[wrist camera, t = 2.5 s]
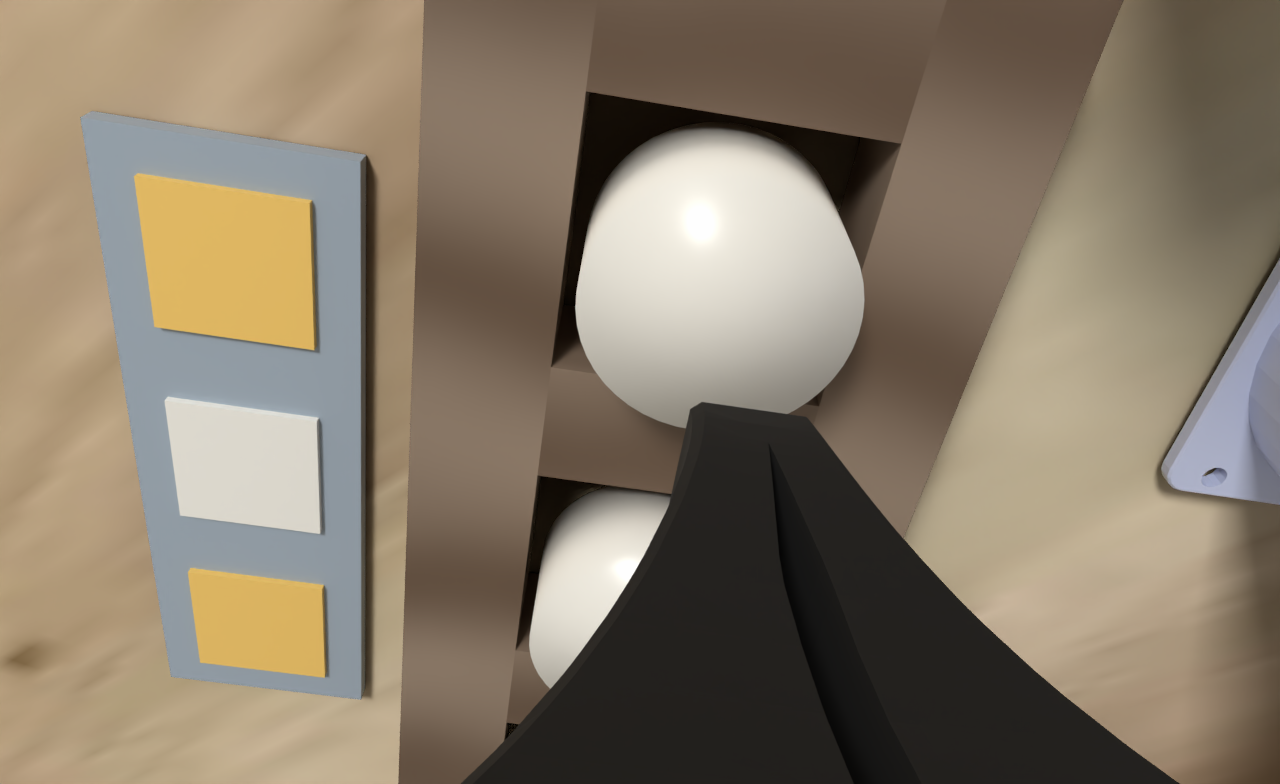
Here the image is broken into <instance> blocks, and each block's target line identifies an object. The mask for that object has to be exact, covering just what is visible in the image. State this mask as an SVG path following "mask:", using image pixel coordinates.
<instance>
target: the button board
mask: <svg viewBox="0 0 1280 784" xmlns="http://www.w3.org/2000/svg"><path fill="white" fill-rule="evenodd" d="M1122 2H1123V0H424V26H423V56H422V86H421V117H420V147H419V177H418V207H417V238H416V268H415V298H414V329H413V359H412V389H411V420H410V450H409V480H408V511H407V541H406V571H405V602H404V632H403V662H402V693H401V723H400V753H399V783H398V784H461V783H462V782H463V781H464V780H465V779H466V778H467V777H468V776H469V775H470V774H471V773H472V772H473V771H474V770H475V769H476V768H477V767H478V766H480V765H481V764H482V763H483V762H484V761H485V760H486V759H487V758H488V757H489V756H490V755H491V754H492V753H493V752H494V751H495V750H496V749H497V748H498V747H499V746H500V745H501V744H502V743H503V742H504V741H505V740H506V738H507V737H508V730H509V723H514V724H520V723H521V722H522V721H523V720H524V718H525V717H526V716H527V715H528V714H529V713H530V712H531V710H532V709H533V708H534V707H535V706H536V705H537V704H538V702H539V701H540V700H541V699H542V698H543V697H544V696H545V695H546V693H547V692H548V691H549V690H550V688H549V687H548V686H547V685H546V684H545V683H544V681H543V680H542V679H541V677H540V676H539V674H538V672H537V671H536V669H535V667H534V664H533V661H532V658H531V655H530V648H529V639H530V630H531V624H532V617H533V611H534V605H535V598H536V592H537V586H538V579H539V574H535V573H529V567H530V559H531V551H532V544H533V536H534V528H535V520H536V513H537V505H538V497H539V489H540V482H541V476H545V477H552V478H560V479H567V480H574V481H581V482H589V483H596V484H603V485H610V486H618V487H625V488H632V489H639V490H647V491H654V492H661V493H668V494H671V493H672V489H673V484H674V480H675V475H676V471H677V466H678V462H679V457H680V453H681V448H682V444H683V439H684V435H685V430H686V428H681V427H676V426H673V425H670V424H666V423H663V422H660V421H658V420H655V419H653V418H651V417H649V416H646V415H644V414H642V413H641V412H639V411H637V410H636V409H634V408H632V407H631V406H629V405H628V404H627V403H625V402H624V401H623V400H621V399H620V398H619V397H618V396H616V395H615V394H614V393H613V392H612V391H611V390H610V389H609V388H608V387H607V386H606V385H605V384H604V382H603V381H602V380H601V378H600V377H599V376H598V374H597V373H596V372H595V370H594V369H593V367H592V365H591V363H590V362H589V360H588V358H587V356H586V354H585V351H584V349H583V346H582V343H581V341H580V337H579V332H578V328H577V322H576V310H575V306H569V305H563V303H564V295H565V287H566V280H567V272H568V264H569V256H570V249H571V241H572V233H573V225H574V218H575V210H576V202H577V194H578V186H579V179H580V171H581V163H582V155H583V148H584V140H585V132H586V124H587V117H588V109H589V101H590V93H591V92H593V93H599V94H605V95H611V96H617V97H623V98H629V99H635V100H641V101H647V102H653V103H659V104H665V105H671V106H677V107H683V108H690V109H696V110H702V111H708V112H714V113H720V114H726V115H732V116H738V117H744V118H750V119H756V120H762V121H768V122H774V123H780V124H786V125H792V126H798V127H804V128H810V129H816V130H822V131H828V132H834V133H840V134H846V135H852V136H858V137H861V139H860V142H859V146H858V149H857V153H856V156H855V160H854V163H853V167H852V170H851V174H850V177H849V180H848V184H847V187H846V191H845V194H844V198H843V201H842V205H841V208H840V212H839V216H840V218H841V221H842V223H843V225H844V228H845V230H846V232H847V235H848V237H849V240H850V242H851V244H852V247H853V249H854V251H855V254H856V257H857V260H858V262H859V265H860V268H861V273H862V278H863V283H864V311H863V319H862V323H861V327H860V331H859V335H858V337H857V340H856V342H855V345H854V347H853V350H852V352H851V353H850V355H849V357H848V359H847V360H846V362H845V364H844V365H843V367H842V368H841V369H840V371H839V372H838V373H837V375H836V376H835V377H834V379H833V380H832V381H831V382H830V383H829V384H828V385H827V386H826V387H825V388H824V389H823V390H822V391H821V392H820V393H818V394H817V395H816V396H815V397H813V398H812V399H811V400H810V401H808V402H807V403H805V404H804V405H802V406H801V407H799V408H797V409H796V410H794V411H793V412H790V413H788V414H790V415H797V416H804V417H807V418H808V419H809V420H810V422H811V423H812V424H813V425H814V426H815V428H816V429H817V430H818V432H819V433H820V434H821V435H822V437H823V438H824V439H825V441H826V442H827V443H828V445H829V446H830V447H831V449H832V450H833V451H834V453H835V454H836V455H837V457H838V458H839V459H840V460H841V462H842V463H843V464H844V466H845V467H846V468H847V470H848V471H849V472H850V473H851V475H852V476H853V477H854V479H855V480H856V481H857V483H858V484H859V485H860V486H861V488H862V489H863V490H864V491H865V493H866V494H867V495H868V496H869V498H870V499H871V500H872V502H873V503H874V504H875V505H876V506H877V508H878V509H879V510H880V511H881V513H882V514H883V515H884V516H885V517H886V519H887V520H888V521H889V522H890V524H891V525H892V526H893V527H894V528H895V529H896V531H897V532H898V533H899V534H900V535H901V537H902V538H904V536H905V533H906V531H907V528H908V526H909V523H910V521H911V518H912V516H913V514H914V511H915V509H916V506H917V504H918V501H919V499H920V496H921V494H922V492H923V489H924V487H925V484H926V482H927V479H928V477H929V474H930V472H931V470H932V467H933V465H934V462H935V460H936V457H937V455H938V452H939V450H940V448H941V445H942V443H943V440H944V438H945V435H946V433H947V430H948V428H949V426H950V423H951V421H952V418H953V416H954V413H955V411H956V408H957V406H958V404H959V401H960V399H961V396H962V394H963V391H964V389H965V386H966V384H967V382H968V379H969V377H970V374H971V372H972V369H973V367H974V364H975V362H976V360H977V357H978V355H979V352H980V350H981V347H982V345H983V342H984V340H985V337H986V335H987V333H988V330H989V328H990V325H991V323H992V320H993V318H994V315H995V313H996V311H997V308H998V306H999V303H1000V301H1001V298H1002V296H1003V293H1004V291H1005V289H1006V286H1007V284H1008V281H1009V279H1010V276H1011V274H1012V271H1013V269H1014V267H1015V264H1016V262H1017V259H1018V257H1019V254H1020V252H1021V249H1022V247H1023V245H1024V242H1025V240H1026V237H1027V235H1028V232H1029V230H1030V227H1031V225H1032V223H1033V220H1034V218H1035V215H1036V213H1037V210H1038V208H1039V205H1040V203H1041V201H1042V198H1043V196H1044V193H1045V191H1046V188H1047V186H1048V183H1049V181H1050V179H1051V176H1052V174H1053V171H1054V169H1055V166H1056V164H1057V161H1058V159H1059V156H1060V154H1061V152H1062V149H1063V147H1064V144H1065V142H1066V139H1067V137H1068V134H1069V132H1070V130H1071V127H1072V125H1073V122H1074V120H1075V117H1076V115H1077V112H1078V110H1079V108H1080V105H1081V103H1082V100H1083V98H1084V95H1085V93H1086V90H1087V88H1088V86H1089V83H1090V81H1091V78H1092V76H1093V73H1094V71H1095V68H1096V66H1097V64H1098V61H1099V59H1100V56H1101V54H1102V51H1103V49H1104V46H1105V44H1106V42H1107V39H1108V37H1109V34H1110V32H1111V29H1112V27H1113V24H1114V22H1115V20H1116V17H1117V15H1118V12H1119V10H1120V7H1121V5H1122Z"/></svg>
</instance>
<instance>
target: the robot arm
mask: <svg viewBox="0 0 1280 784" xmlns="http://www.w3.org/2000/svg"><path fill="white" fill-rule="evenodd" d="M1213 468H1216V469H1215V470H1214V471H1213V472H1212V473H1211V474H1208V475H1206V476H1203V475H1204V474H1205V473H1206V472H1207V471H1208V470H1211V469H1213ZM1161 471H1162V475H1163V477H1164V478H1165V479H1166V481H1167V482H1168V483H1169V484H1170V485H1171V486H1172V487H1173V488H1174V489H1177V490H1180V491H1186V492H1193V493H1200V494H1207V495H1214V496H1221V497H1228V498H1235V499H1242V500H1248V501H1255V502H1262V503H1269V504H1276V505H1280V259H1279V260H1278V262H1277V264H1276V266H1275V267H1274V269H1273V271H1272V273H1271V274H1270V276H1269V278H1268V280H1267V281H1266V283H1265V285H1264V287H1263V288H1262V290H1261V292H1260V294H1259V295H1258V297H1257V299H1256V301H1255V302H1254V304H1253V306H1252V308H1251V309H1250V311H1249V313H1248V315H1247V316H1246V318H1245V320H1244V321H1243V323H1242V325H1241V327H1240V328H1239V330H1238V332H1237V334H1236V335H1235V337H1234V339H1233V341H1232V342H1231V344H1230V346H1229V348H1228V349H1227V351H1226V353H1225V355H1224V356H1223V358H1222V360H1221V362H1220V363H1219V365H1218V367H1217V369H1216V370H1215V372H1214V374H1213V376H1212V377H1211V379H1210V381H1209V383H1208V384H1207V386H1206V388H1205V390H1204V391H1203V393H1202V395H1201V397H1200V398H1199V400H1198V402H1197V404H1196V405H1195V407H1194V409H1193V411H1192V412H1191V414H1190V416H1189V418H1188V419H1187V421H1186V423H1185V425H1184V426H1183V428H1182V430H1181V432H1180V433H1179V435H1178V437H1177V439H1176V440H1175V442H1174V444H1173V446H1172V447H1171V449H1170V451H1169V453H1168V454H1167V456H1166V458H1165V460H1164V461H1163V464H1162V467H1161ZM461 784H1179V783H1178V782H1176V781H1175V780H1174V779H1172V778H1171V777H1169V776H1168V775H1167V774H1165V773H1164V772H1163V771H1161V770H1160V769H1158V768H1157V767H1156V766H1154V765H1153V764H1152V763H1150V762H1149V761H1147V760H1146V759H1145V758H1143V757H1142V756H1141V755H1139V754H1138V753H1137V752H1135V751H1134V750H1132V749H1131V748H1130V747H1128V746H1127V745H1126V744H1124V743H1123V742H1122V741H1121V740H1119V739H1118V738H1117V737H1115V736H1114V735H1113V734H1112V733H1110V732H1109V731H1108V730H1107V729H1105V728H1104V727H1103V726H1102V725H1100V724H1099V723H1098V722H1097V721H1095V720H1094V719H1093V718H1091V717H1090V716H1089V715H1088V714H1086V713H1085V712H1084V711H1083V710H1081V709H1080V708H1079V707H1078V706H1076V705H1075V704H1074V703H1073V702H1071V701H1070V700H1069V699H1067V698H1066V697H1065V696H1064V695H1063V694H1061V693H1060V692H1059V691H1058V690H1057V689H1055V688H1054V687H1053V686H1052V685H1051V684H1050V683H1048V682H1047V681H1046V680H1045V679H1044V678H1042V677H1041V676H1040V675H1039V674H1038V673H1037V672H1035V671H1034V670H1033V669H1032V668H1031V667H1030V666H1029V665H1028V664H1027V663H1025V662H1024V661H1023V660H1022V659H1021V658H1020V657H1019V656H1018V655H1017V654H1016V653H1015V652H1013V651H1012V650H1011V649H1010V648H1009V647H1008V646H1007V645H1006V644H1005V643H1004V642H1003V641H1001V640H1000V639H999V638H998V637H997V636H996V635H995V634H994V633H993V632H992V631H991V630H990V629H988V628H987V627H986V626H985V625H984V624H983V623H982V622H981V621H980V620H979V619H978V618H977V617H976V616H975V615H974V614H973V613H972V612H971V611H970V610H969V609H968V608H967V607H966V606H965V605H964V604H963V603H962V602H961V601H960V600H959V599H958V598H957V597H956V596H955V595H954V594H953V593H952V592H951V591H950V589H949V588H948V587H947V586H946V585H945V584H944V583H943V582H942V581H941V580H940V579H939V578H938V577H937V576H936V574H935V573H934V572H933V571H932V570H931V569H930V568H929V567H928V566H927V565H926V564H925V563H924V562H923V561H922V559H921V558H920V557H919V556H918V555H917V554H916V553H915V551H914V550H913V549H912V548H911V547H910V546H909V545H908V543H907V542H906V541H905V540H904V539H903V538H902V537H901V535H900V534H899V533H898V532H897V531H896V529H895V528H894V527H893V526H892V525H891V524H890V522H889V521H888V520H887V519H886V517H885V516H884V515H883V514H882V513H881V511H880V510H879V509H878V508H877V506H876V505H875V504H874V503H873V502H872V500H871V499H870V498H869V496H868V495H867V494H866V493H865V491H864V490H863V489H862V488H861V486H860V485H859V484H858V483H857V481H856V480H855V479H854V477H853V476H852V475H851V473H850V472H849V471H848V470H847V468H846V467H845V466H844V464H843V463H842V462H841V460H840V459H839V458H838V457H837V455H836V454H835V453H834V451H833V450H832V449H831V447H830V446H829V445H828V443H827V442H826V441H825V439H824V438H823V437H822V435H821V434H820V433H819V432H818V430H817V429H816V428H815V426H814V425H813V424H812V423H811V422H810V420H809V419H808V418H807V417H804V416H797V415H790V414H783V413H776V412H769V411H762V410H755V409H748V408H741V407H734V406H727V405H720V404H713V403H706V402H701V403H699V404H698V405H696V406H694V407H693V408H691V409H690V412H689V417H688V421H687V426H686V430H685V435H684V439H683V444H682V448H681V453H680V457H679V462H678V466H677V471H676V475H675V480H674V484H673V489H672V493H671V498H670V502H669V506H668V508H667V510H666V513H665V515H664V517H663V519H662V521H661V523H660V525H659V527H658V529H657V531H656V532H655V534H654V536H653V538H652V540H651V542H650V544H649V546H648V548H647V550H646V552H645V554H644V556H643V558H642V560H641V561H640V563H639V565H638V567H637V568H636V570H635V572H634V574H633V575H632V577H631V579H630V580H629V582H628V583H627V585H626V587H625V588H624V590H623V591H622V593H621V595H620V596H619V598H618V599H617V601H616V602H615V604H614V605H613V607H612V608H611V610H610V611H609V613H608V614H607V616H606V617H605V619H604V620H603V621H602V623H601V624H600V626H599V627H598V628H597V630H596V631H595V633H594V634H593V635H592V637H591V638H590V639H589V641H588V642H587V644H586V645H585V646H584V648H583V649H582V651H581V652H580V653H579V655H578V656H577V657H576V658H575V660H574V661H573V662H572V664H571V665H570V666H569V667H568V669H567V670H566V671H565V672H564V674H563V675H562V676H561V677H560V679H559V680H558V681H557V682H556V683H555V684H554V685H553V687H552V688H551V689H550V690H549V691H548V692H547V693H546V695H545V696H544V697H543V698H542V699H541V700H540V701H539V702H538V704H537V705H536V706H535V707H534V708H533V709H532V710H531V712H530V713H529V714H528V715H527V716H526V717H525V718H524V720H523V721H522V722H521V723H520V724H519V725H518V726H517V728H516V729H515V730H514V731H513V732H512V733H511V734H510V735H509V736H508V737H507V738H506V740H505V741H504V742H503V743H502V744H501V745H500V746H499V747H498V748H497V749H496V750H495V751H494V752H493V753H492V754H491V755H490V756H489V757H488V758H487V759H486V760H485V761H484V762H483V763H482V764H481V765H480V766H478V767H477V768H476V769H475V770H474V771H473V772H472V773H471V774H470V775H469V776H468V777H467V778H466V779H465V780H464V781H463V782H462V783H461Z"/></svg>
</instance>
